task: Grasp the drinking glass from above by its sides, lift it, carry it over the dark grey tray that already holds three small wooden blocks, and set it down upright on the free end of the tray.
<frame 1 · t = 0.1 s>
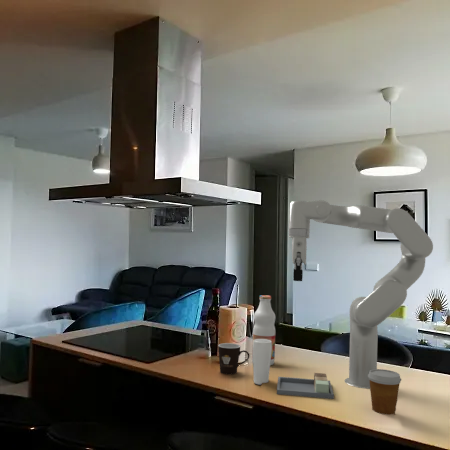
hand: (297, 280, 165), 37 cm above the kitchen island, tool pointing down, fingers open, 9 cm apart
disposable coffee cup: (383, 414, 133), on the kitchen island
tray: (304, 392, 150), on the kitchen island
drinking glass: (260, 383, 159), on the kitchen island
beech block: (320, 390, 150), point 1 cm above the kitchen island, touching tray
sage painted block: (321, 394, 145), point 1 cm above the kitchen island, touching tray
fruit juice: (263, 363, 186), on the kitchen island
coffee mug: (231, 373, 170), on the kitchen island
walnut block: (320, 386, 154), point 1 cm above the kitchen island, touching tray
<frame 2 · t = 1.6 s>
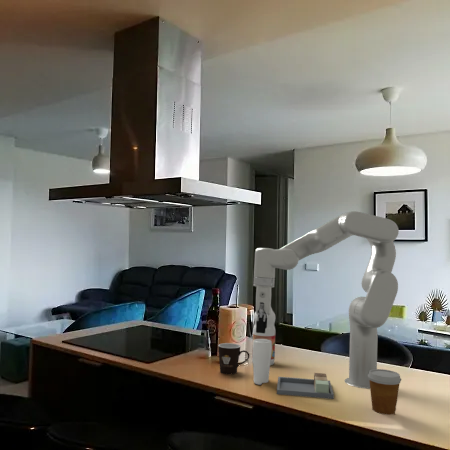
hand: (261, 330, 160), 19 cm above the kitchen island, tool pointing down, fingers open, 9 cm apart
nothing on the kitchen island moved.
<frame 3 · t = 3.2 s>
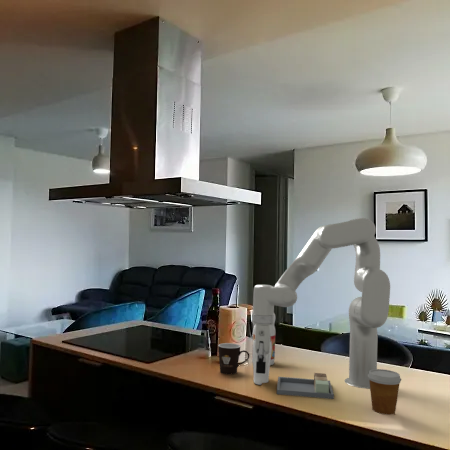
hand: (261, 370, 159), 5 cm above the kitchen island, tool pointing down, fingers closed on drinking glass, 6 cm apart
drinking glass: (260, 383, 159), on the kitchen island, touching gripper
everything else where it was.
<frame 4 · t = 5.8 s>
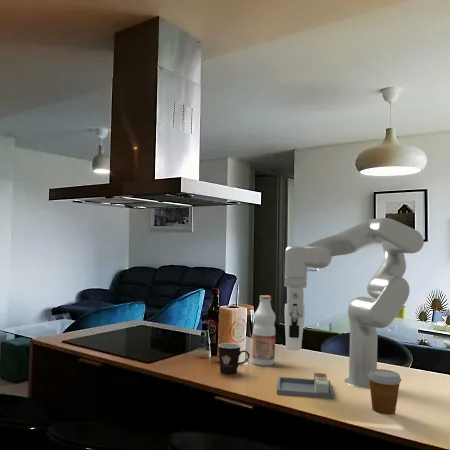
hand: (294, 335, 152), 19 cm above the kitchen island, tool pointing down, fingers closed on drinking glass, 6 cm apart
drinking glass: (293, 349, 152), point 14 cm above the kitchen island, touching gripper
everything else where it was.
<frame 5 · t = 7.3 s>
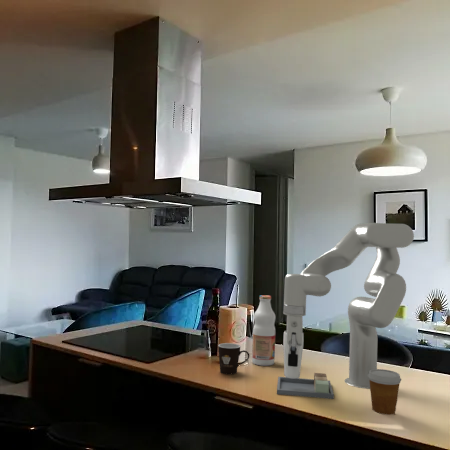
hand: (292, 363, 151), 9 cm above the kitchen island, tool pointing down, fingers closed on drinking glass, 6 cm apart
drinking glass: (291, 377, 151), point 5 cm above the kitchen island, touching gripper
everything else where it was.
when the fingers open (7 cm above the kitchen island, at t = 8.5 s): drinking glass stays where it is, resting on tray.
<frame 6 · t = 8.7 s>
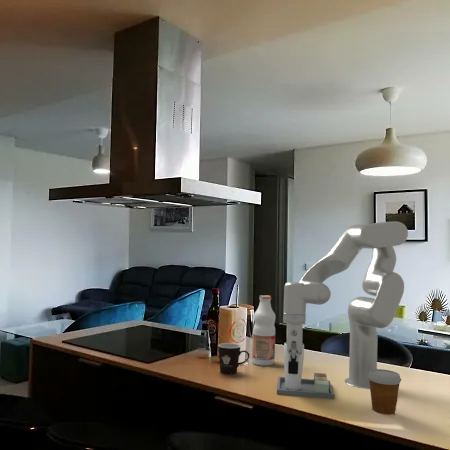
hand: (292, 369, 151), 7 cm above the kitchen island, tool pointing down, fingers open, 8 cm apart
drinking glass: (292, 389, 151), point 1 cm above the kitchen island, touching tray
everything else where it was.
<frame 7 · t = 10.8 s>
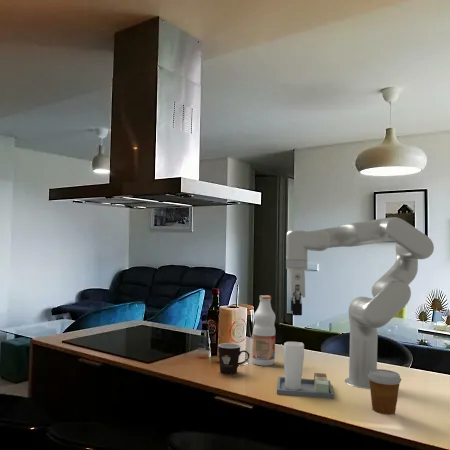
hand: (296, 313, 159), 25 cm above the kitchen island, tool pointing down, fingers open, 9 cm apart
nothing on the kitchen island moved.
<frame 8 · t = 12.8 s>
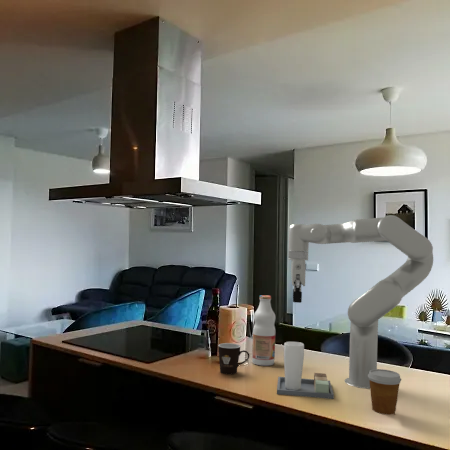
hand: (297, 300, 171), 28 cm above the kitchen island, tool pointing down, fingers open, 9 cm apart
nothing on the kitchen island moved.
at the end: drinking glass inside the target area on the tray (3.6 cm from its centre), point 0.8 cm above the tray's base; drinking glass tilted 0°; the gripper is holding nothing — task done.
